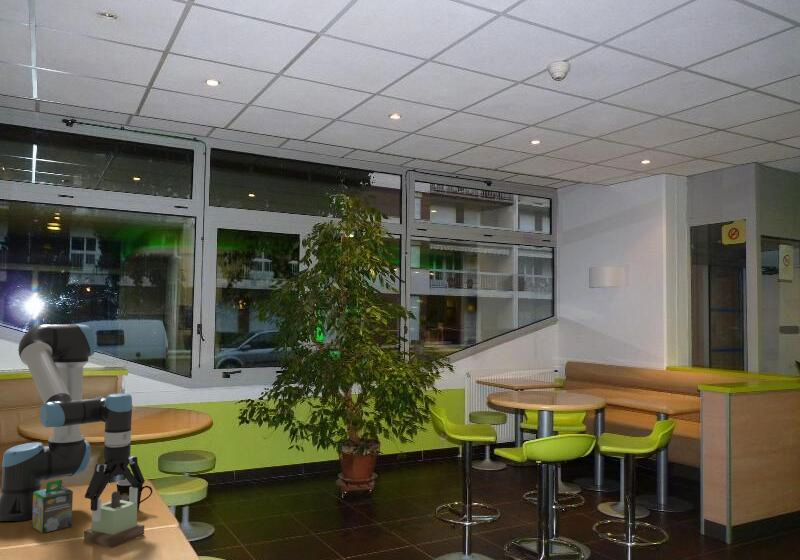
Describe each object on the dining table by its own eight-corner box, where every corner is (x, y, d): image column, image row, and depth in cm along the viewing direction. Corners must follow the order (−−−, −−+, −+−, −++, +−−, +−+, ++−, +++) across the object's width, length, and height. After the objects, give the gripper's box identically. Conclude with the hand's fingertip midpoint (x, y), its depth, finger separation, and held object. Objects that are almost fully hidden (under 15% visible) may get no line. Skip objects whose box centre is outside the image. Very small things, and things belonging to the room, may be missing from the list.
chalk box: (60, 520, 211) (62, 475, 212) (72, 526, 205) (74, 480, 206) (30, 527, 204) (32, 480, 205) (41, 534, 198) (43, 485, 199)
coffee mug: (109, 512, 220) (110, 483, 220) (130, 505, 227) (131, 477, 228) (133, 517, 214) (134, 487, 215) (153, 511, 222) (154, 481, 222)
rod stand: (83, 541, 192) (85, 493, 193) (116, 529, 203) (118, 484, 204) (111, 547, 187) (113, 498, 188) (144, 535, 198) (145, 488, 199)
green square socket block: (91, 530, 193) (92, 506, 193) (115, 521, 201) (116, 499, 202) (112, 534, 189) (113, 511, 190) (136, 525, 197) (137, 503, 198)
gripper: (91, 453, 184) (88, 528, 183) (157, 438, 206) (155, 505, 205) (73, 451, 187) (70, 524, 186) (140, 436, 209) (138, 501, 208)
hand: (114, 514), depth 195 cm, fingers open, 13 cm apart
